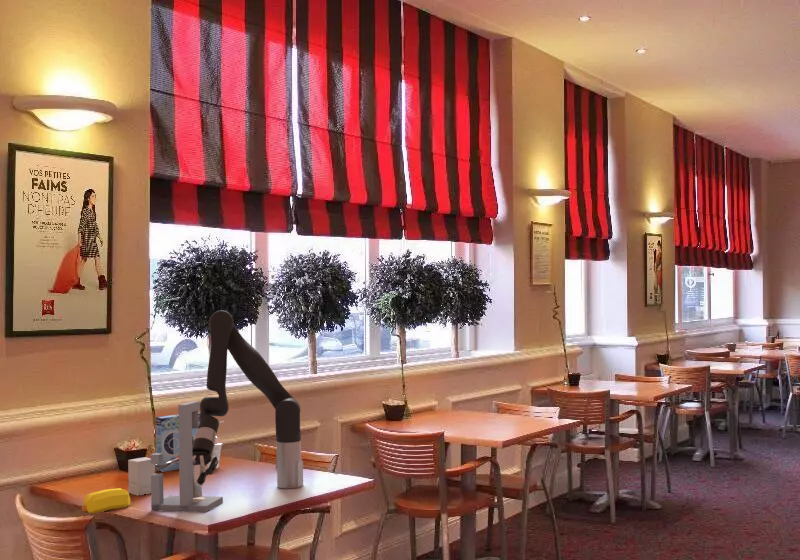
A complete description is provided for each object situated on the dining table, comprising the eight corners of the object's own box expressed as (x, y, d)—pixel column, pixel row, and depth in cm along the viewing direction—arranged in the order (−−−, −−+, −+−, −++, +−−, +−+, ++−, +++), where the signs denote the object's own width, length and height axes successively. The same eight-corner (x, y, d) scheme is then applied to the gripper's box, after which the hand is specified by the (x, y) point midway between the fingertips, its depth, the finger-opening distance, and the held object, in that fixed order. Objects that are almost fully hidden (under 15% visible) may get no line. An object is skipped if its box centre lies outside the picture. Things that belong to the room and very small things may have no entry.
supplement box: (156, 492, 321) (155, 458, 322) (137, 496, 316) (137, 461, 316) (146, 490, 326) (145, 456, 327) (128, 493, 321) (127, 459, 321)
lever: (186, 462, 314) (186, 453, 314) (161, 473, 294) (161, 464, 295) (178, 462, 314) (178, 453, 314) (152, 473, 295) (152, 463, 295)
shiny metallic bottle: (204, 494, 301) (203, 459, 302) (198, 498, 297) (197, 461, 297) (191, 494, 302) (190, 459, 302) (185, 497, 298) (184, 461, 298)
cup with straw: (207, 465, 373) (206, 419, 373) (227, 466, 371) (226, 419, 372) (200, 469, 364) (199, 422, 365) (220, 469, 363) (219, 422, 363)
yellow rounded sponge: (136, 506, 301) (125, 503, 306) (136, 487, 301) (125, 484, 306) (87, 516, 288) (76, 512, 293) (86, 496, 288) (76, 493, 293)
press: (222, 502, 303) (221, 400, 304) (206, 512, 289) (204, 405, 290) (170, 501, 307) (168, 400, 308) (151, 510, 293) (149, 404, 294)
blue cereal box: (196, 464, 377) (195, 411, 378) (202, 465, 374) (201, 412, 374) (155, 471, 364) (155, 416, 364) (161, 472, 360) (160, 417, 361)
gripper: (182, 436, 308) (169, 477, 296) (220, 436, 306) (210, 477, 294) (187, 449, 313) (175, 489, 301) (225, 449, 312) (215, 489, 299)
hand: (192, 483), depth 298 cm, fingers open, 5 cm apart
